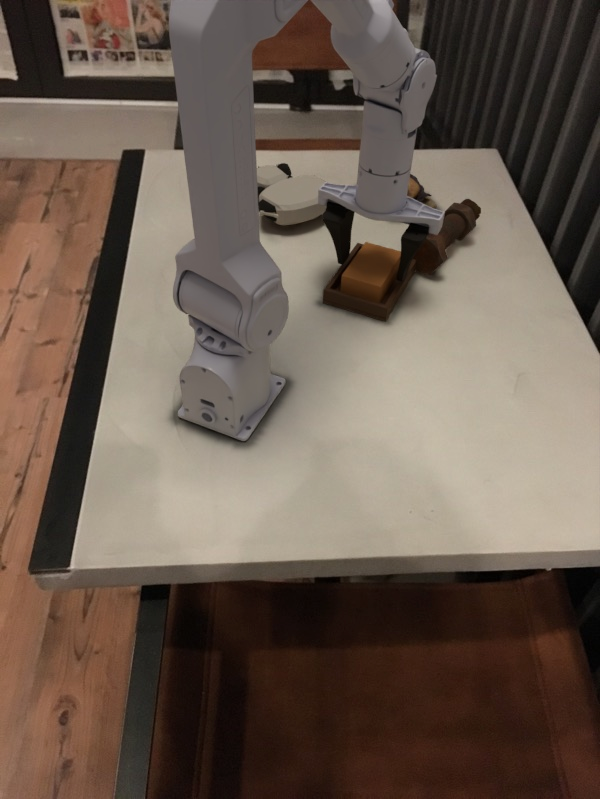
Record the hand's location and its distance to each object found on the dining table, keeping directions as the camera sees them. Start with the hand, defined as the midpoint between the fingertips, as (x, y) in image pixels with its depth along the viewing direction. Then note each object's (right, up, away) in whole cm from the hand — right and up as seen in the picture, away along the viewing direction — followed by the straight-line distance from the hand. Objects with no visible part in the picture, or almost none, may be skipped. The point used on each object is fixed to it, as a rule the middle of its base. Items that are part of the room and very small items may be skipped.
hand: (372, 268), depth 84 cm
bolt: (+11, +4, +8) cm, 14 cm away
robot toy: (-11, +11, +15) cm, 22 cm away
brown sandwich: (+5, +14, +17) cm, 23 cm away
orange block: (0, -2, +2) cm, 2 cm away
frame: (0, -2, +2) cm, 3 cm away
